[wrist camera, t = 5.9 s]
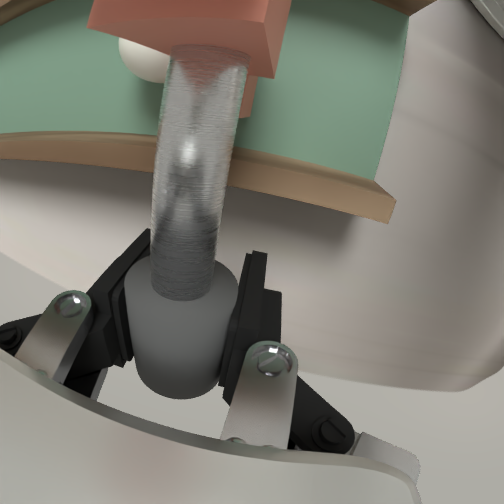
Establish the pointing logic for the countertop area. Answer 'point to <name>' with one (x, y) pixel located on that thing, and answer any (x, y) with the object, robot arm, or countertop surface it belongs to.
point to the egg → (144, 61)
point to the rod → (191, 175)
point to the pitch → (249, 128)
